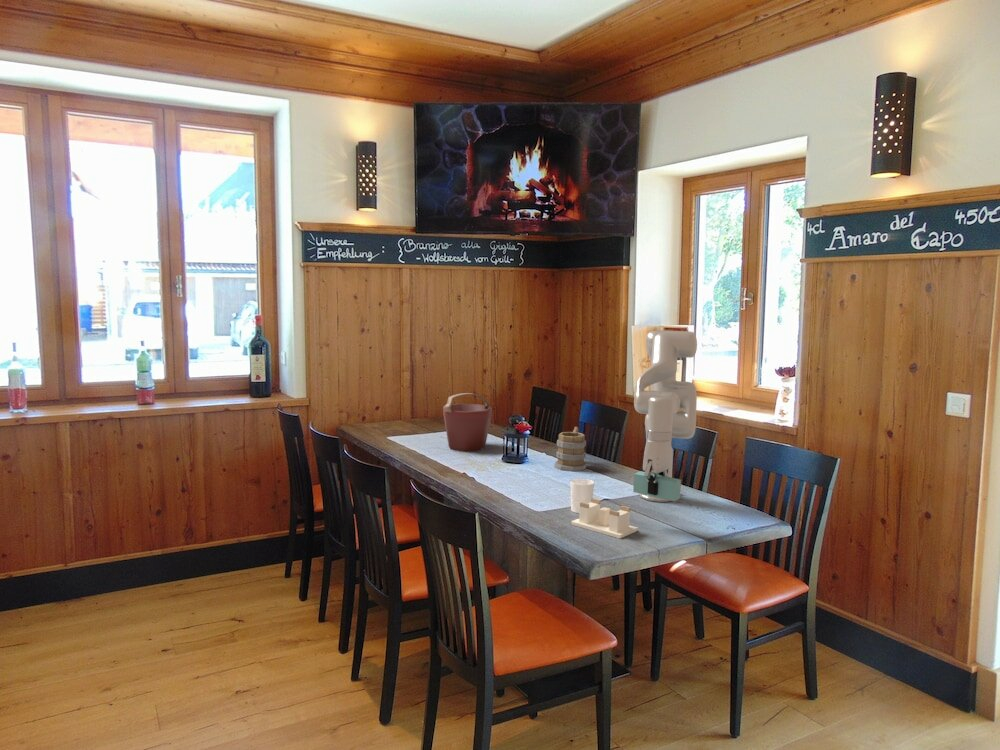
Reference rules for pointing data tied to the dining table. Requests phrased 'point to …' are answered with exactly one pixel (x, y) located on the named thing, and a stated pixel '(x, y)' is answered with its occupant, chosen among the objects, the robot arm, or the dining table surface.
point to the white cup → (580, 493)
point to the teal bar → (666, 486)
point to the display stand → (604, 519)
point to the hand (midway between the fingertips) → (656, 491)
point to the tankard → (571, 451)
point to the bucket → (467, 424)
